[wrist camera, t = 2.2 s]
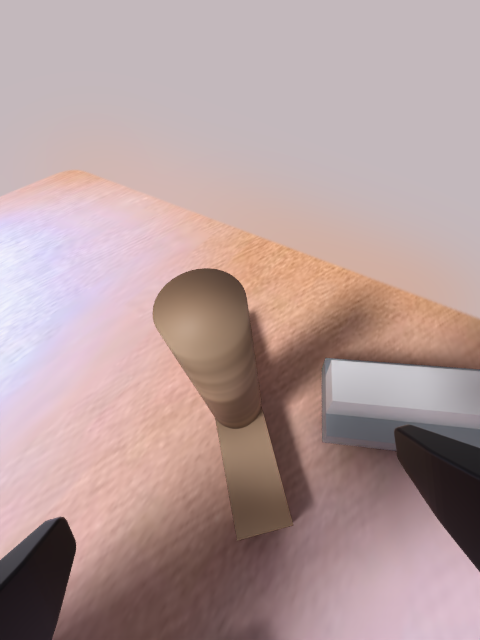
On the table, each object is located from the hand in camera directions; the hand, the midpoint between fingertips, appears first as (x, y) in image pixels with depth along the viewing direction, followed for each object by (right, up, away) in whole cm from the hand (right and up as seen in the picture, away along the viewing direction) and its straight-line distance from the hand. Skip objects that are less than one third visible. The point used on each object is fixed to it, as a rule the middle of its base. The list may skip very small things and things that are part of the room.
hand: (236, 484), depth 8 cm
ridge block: (+11, -2, +12) cm, 16 cm away
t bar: (0, -2, +13) cm, 13 cm away
